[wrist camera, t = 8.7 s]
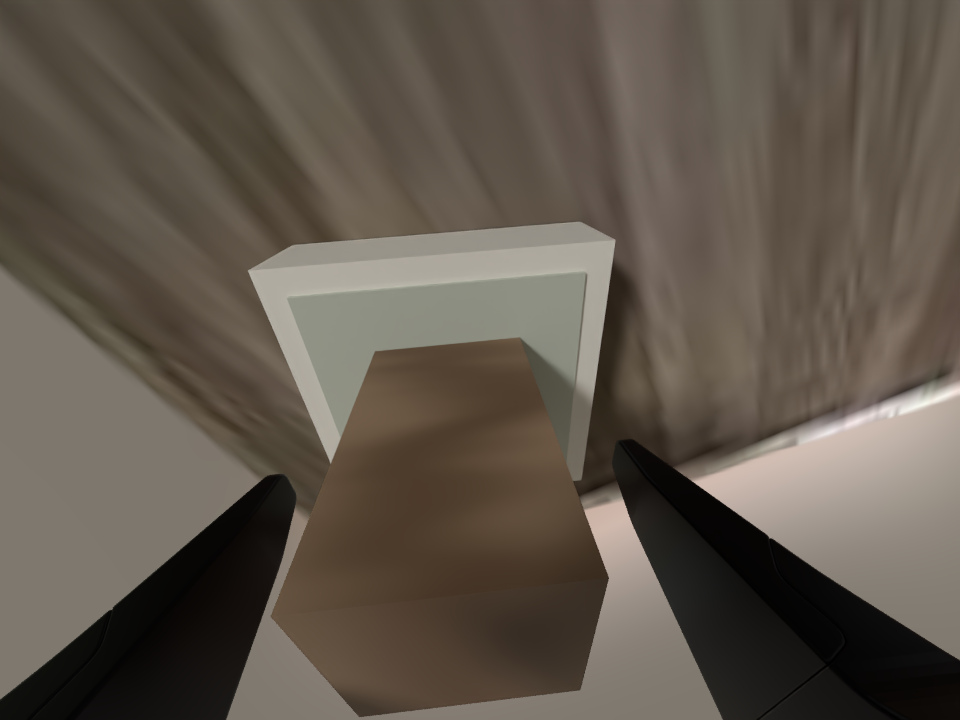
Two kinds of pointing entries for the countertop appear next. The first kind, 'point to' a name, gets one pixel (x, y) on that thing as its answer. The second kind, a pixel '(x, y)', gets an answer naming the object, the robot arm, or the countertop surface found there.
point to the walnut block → (446, 541)
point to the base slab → (443, 312)
